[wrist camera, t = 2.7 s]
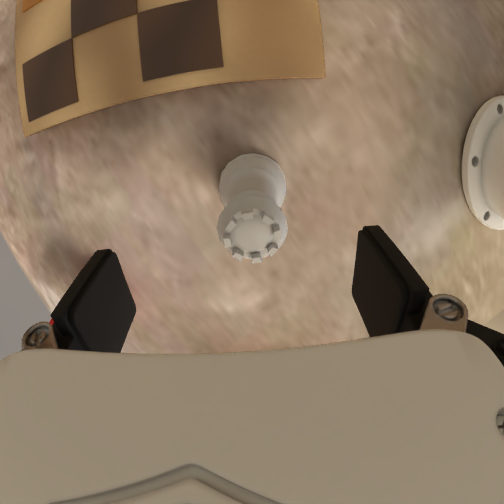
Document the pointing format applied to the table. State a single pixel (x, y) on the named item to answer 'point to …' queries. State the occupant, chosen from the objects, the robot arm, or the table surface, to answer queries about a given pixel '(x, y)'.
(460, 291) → the table surface
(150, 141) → the table surface
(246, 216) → the rook chess piece
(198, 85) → the board
